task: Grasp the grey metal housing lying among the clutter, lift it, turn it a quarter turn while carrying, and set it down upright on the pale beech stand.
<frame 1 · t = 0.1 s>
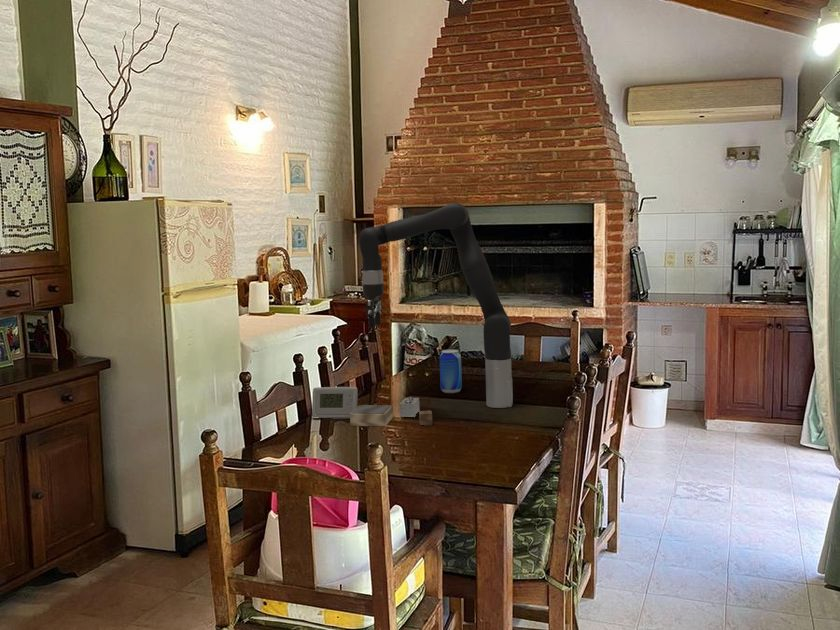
hand: (375, 326, 285), 29 cm above the table, fingers open, 8 cm apart
digital clock: (335, 418, 272), on the table
walnut block: (425, 424, 259), on the table
stand: (372, 421, 265), on the table
beer can: (451, 391, 306), on the table
housing: (410, 414, 272), on the table
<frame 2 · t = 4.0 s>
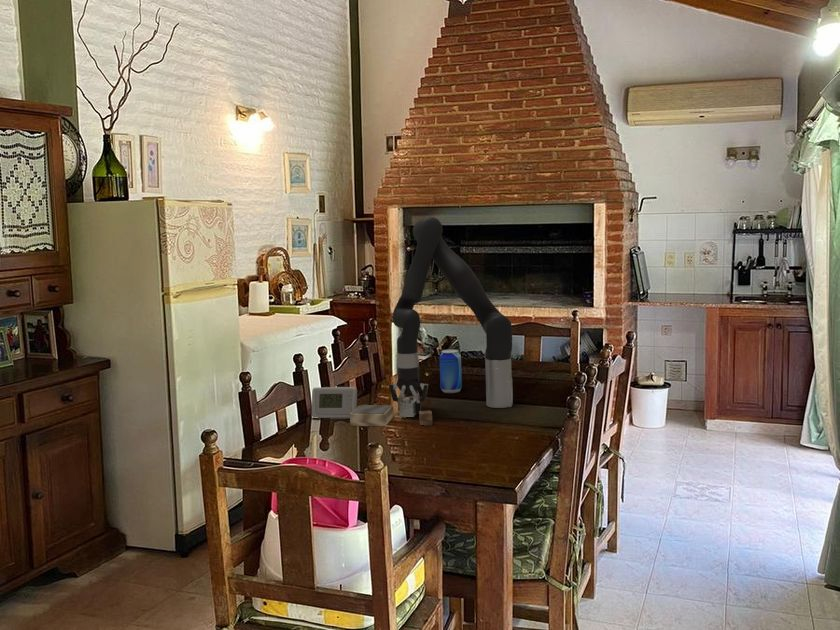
hand: (409, 412, 272), 1 cm above the table, fingers closed on housing, 5 cm apart
housing: (410, 414, 272), on the table, touching gripper
everything else where it was.
when the fingers open (6 cm above the table, at t = 8.7 s): housing drops 1 cm, resting on stand.
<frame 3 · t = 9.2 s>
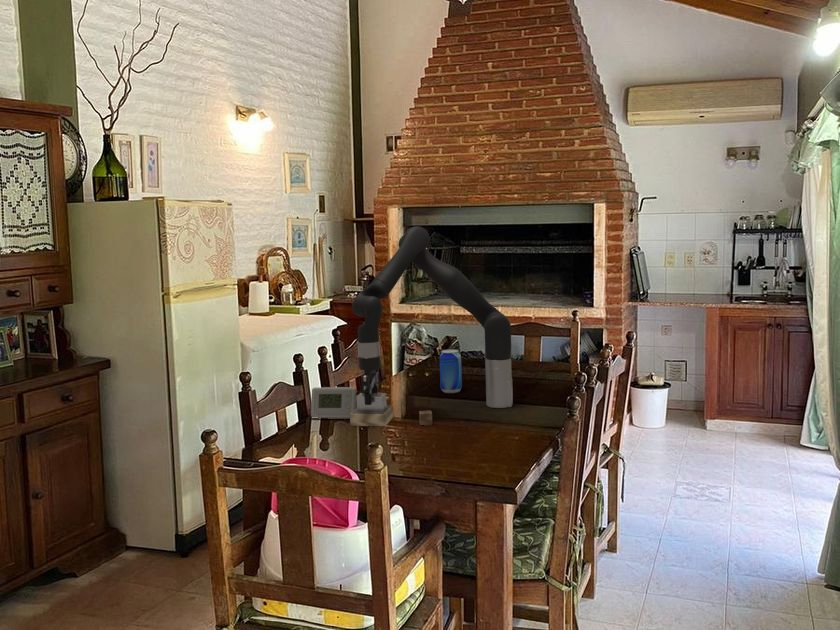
hand: (371, 401, 264), 7 cm above the table, fingers open, 8 cm apart
housing: (371, 409, 264), point 4 cm above the table, touching stand
everything else where it was.
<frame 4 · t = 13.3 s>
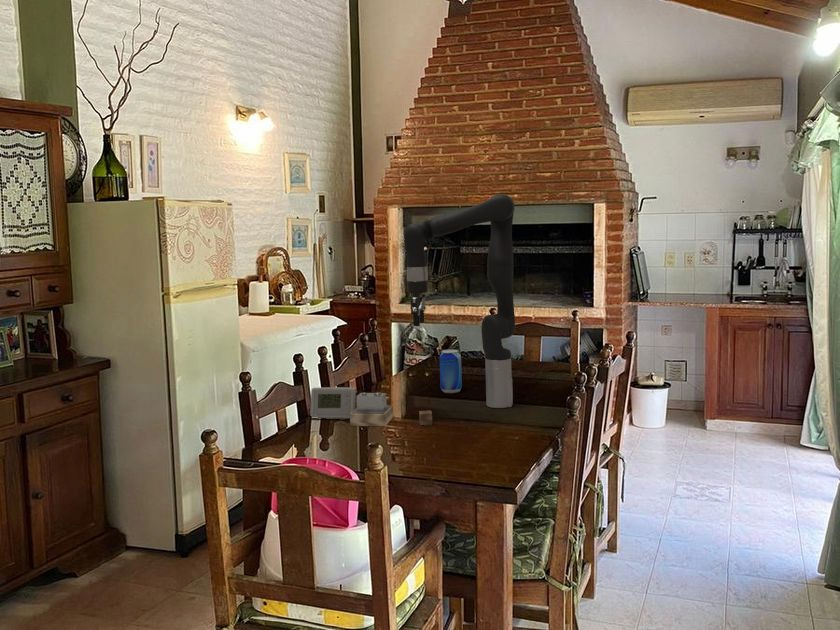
hand: (419, 324, 280), 30 cm above the table, fingers open, 8 cm apart
nothing on the table moved.
at the end: housing inside the target area on the stand (0.1 cm from its centre), point 4.2 cm above the stand's base; housing tilted 0°; the gripper is holding nothing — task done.
